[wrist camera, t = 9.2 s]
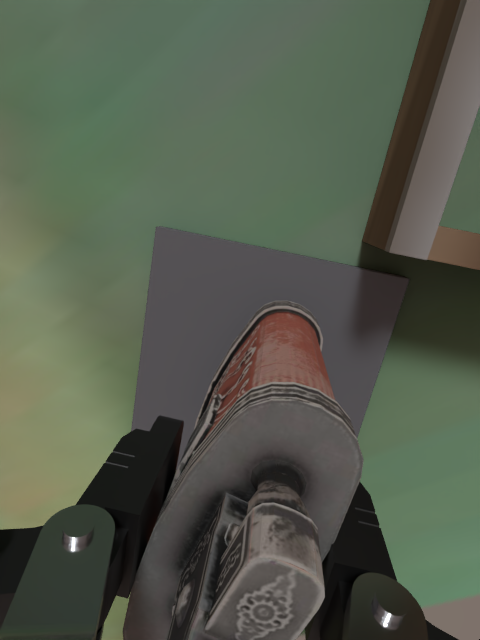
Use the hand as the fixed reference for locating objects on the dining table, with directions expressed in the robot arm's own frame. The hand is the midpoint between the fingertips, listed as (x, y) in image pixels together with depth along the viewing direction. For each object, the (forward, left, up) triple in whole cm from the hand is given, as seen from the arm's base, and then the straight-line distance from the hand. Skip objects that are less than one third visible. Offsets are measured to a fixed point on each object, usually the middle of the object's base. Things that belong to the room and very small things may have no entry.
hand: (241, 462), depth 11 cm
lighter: (0, 0, -4) cm, 4 cm away
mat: (0, 0, -6) cm, 6 cm away
